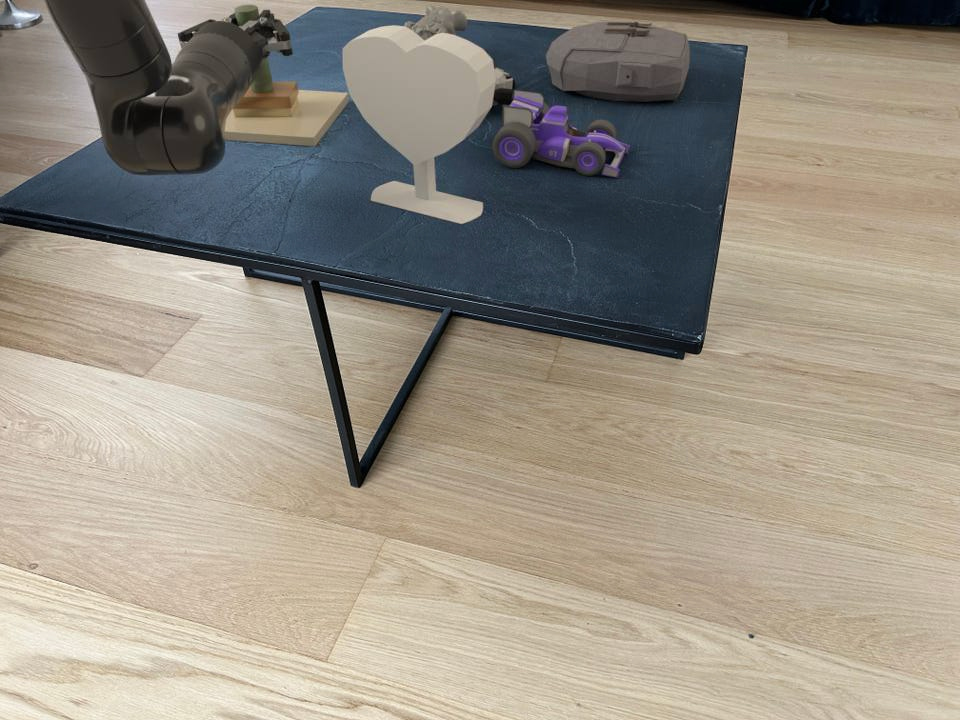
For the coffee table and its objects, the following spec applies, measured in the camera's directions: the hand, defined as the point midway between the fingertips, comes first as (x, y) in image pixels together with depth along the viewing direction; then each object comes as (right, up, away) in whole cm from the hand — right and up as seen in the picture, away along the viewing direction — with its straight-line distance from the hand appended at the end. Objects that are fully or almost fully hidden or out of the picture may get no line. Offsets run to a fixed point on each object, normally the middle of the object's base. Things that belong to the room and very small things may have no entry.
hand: (255, 18), depth 95 cm
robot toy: (+26, -8, +8) cm, 29 cm away
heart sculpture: (+22, -26, -11) cm, 36 cm away
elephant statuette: (+22, +2, +20) cm, 30 cm away
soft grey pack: (+48, -4, +13) cm, 49 cm away
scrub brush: (0, -10, +5) cm, 11 cm away
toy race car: (+39, -19, -3) cm, 43 cm away
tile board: (-1, -11, +6) cm, 12 cm away
